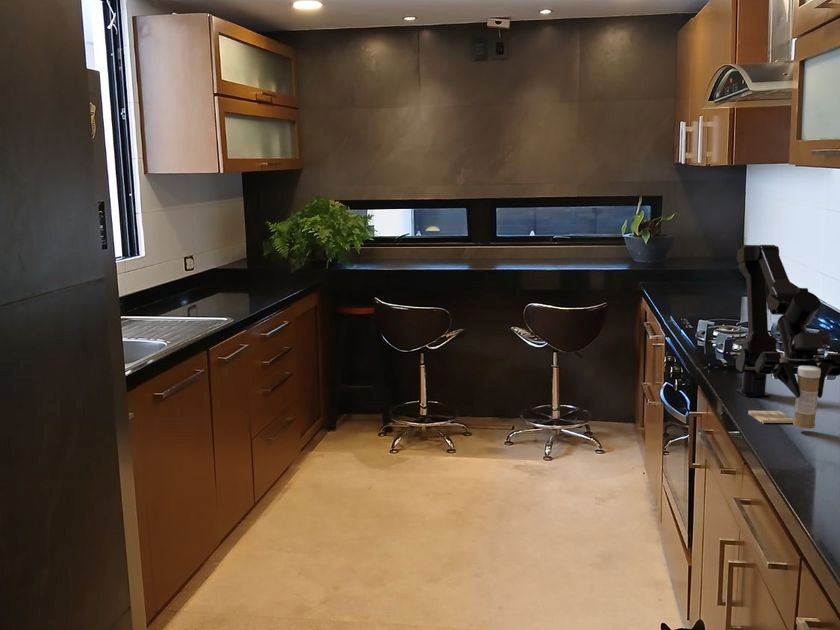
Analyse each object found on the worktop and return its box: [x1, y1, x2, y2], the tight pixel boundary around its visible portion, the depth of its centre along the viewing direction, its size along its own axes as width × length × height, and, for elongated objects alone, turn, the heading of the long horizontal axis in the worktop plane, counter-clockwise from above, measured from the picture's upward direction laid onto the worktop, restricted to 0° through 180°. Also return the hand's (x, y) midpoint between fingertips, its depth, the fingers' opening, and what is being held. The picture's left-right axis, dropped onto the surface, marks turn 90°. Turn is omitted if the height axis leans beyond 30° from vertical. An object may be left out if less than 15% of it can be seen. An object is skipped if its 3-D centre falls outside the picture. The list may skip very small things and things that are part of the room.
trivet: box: [747, 410, 794, 425], centre depth 195 cm, size 8×8×1 cm
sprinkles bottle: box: [792, 365, 821, 430], centre depth 183 cm, size 5×5×14 cm
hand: (809, 396), depth 182 cm, fingers closed on sprinkles bottle, 4 cm apart
